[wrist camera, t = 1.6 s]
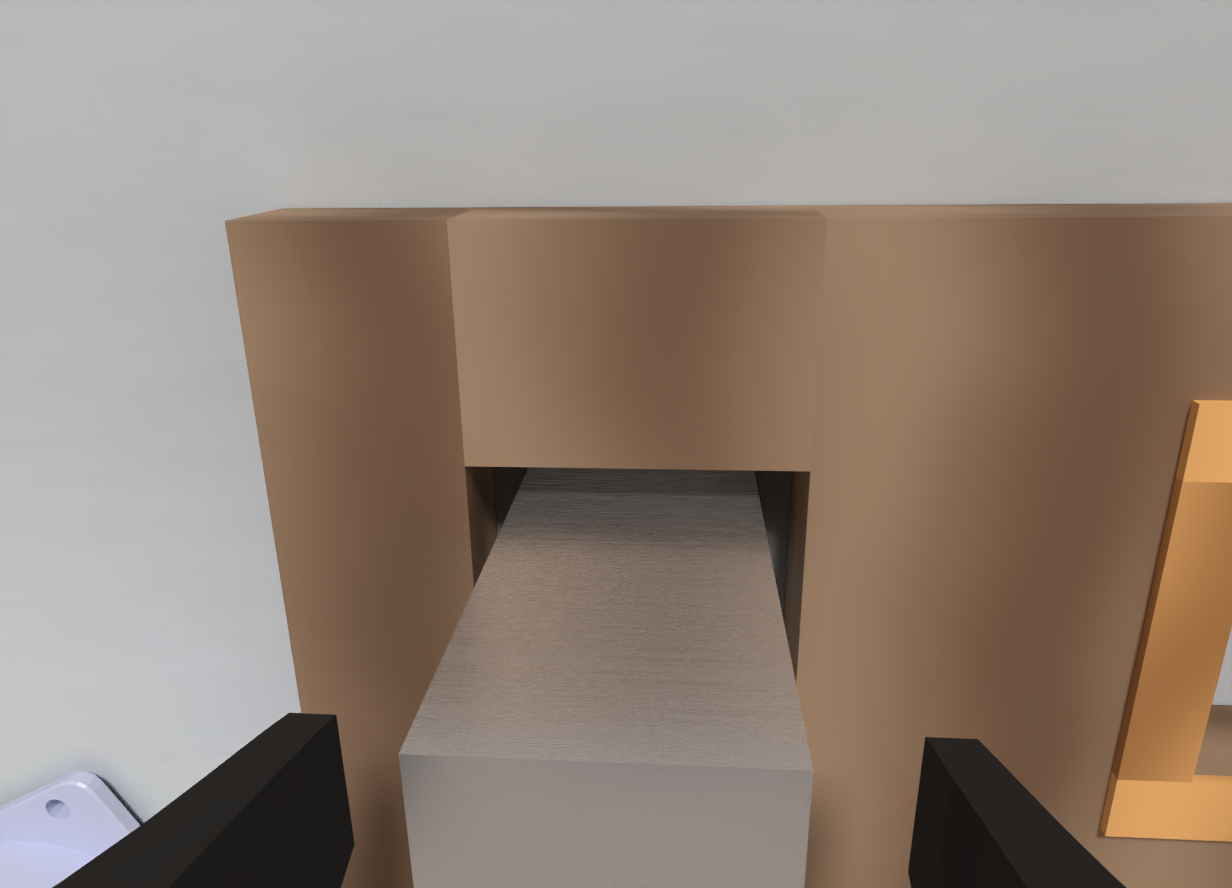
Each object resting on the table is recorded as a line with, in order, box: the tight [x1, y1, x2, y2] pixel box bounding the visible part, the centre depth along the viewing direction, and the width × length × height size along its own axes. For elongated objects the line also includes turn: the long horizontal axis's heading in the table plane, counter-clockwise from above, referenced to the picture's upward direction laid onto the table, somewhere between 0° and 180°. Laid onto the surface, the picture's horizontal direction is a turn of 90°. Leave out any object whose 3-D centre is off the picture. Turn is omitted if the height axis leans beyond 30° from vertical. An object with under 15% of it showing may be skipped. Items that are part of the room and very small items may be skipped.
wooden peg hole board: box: [225, 203, 1232, 888], centre depth 15 cm, size 24×13×2 cm, turn 90°
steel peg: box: [399, 467, 813, 888], centre depth 13 cm, size 4×4×8 cm
